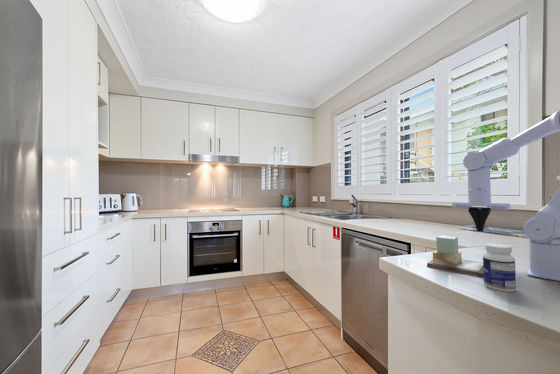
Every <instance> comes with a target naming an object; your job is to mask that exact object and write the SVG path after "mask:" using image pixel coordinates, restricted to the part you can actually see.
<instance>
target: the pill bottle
mask: <svg viewBox="0 0 560 374" xmlns="http://www.w3.org/2000/svg"><path fill="white" fill-rule="evenodd" d="M512 247H513V246H512V245H509V244H504V243H498V242H497V243H495V242H490V243H489V242H487V243H485V245H484V248H485V251H486V252H485V253H484V254H483V255H482V263H483V272H484V277H483V284H484V286H486V287H487V288H490V289H492V290H495V291H498V292H499V291H500V292H506V293H508V292H515V291H516V290H517V276H516V259H515V257H514V256H513V255H512V254H511V253H512V252H513V248H512Z"/></svg>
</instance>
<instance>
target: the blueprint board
mask: <svg viewBox="0 0 560 374" xmlns="http://www.w3.org/2000/svg"><path fill="white" fill-rule="evenodd" d="M426 266H427V268H428V267H429V268H433V269H438V270H443V271H444V270H445V271H448V272H449V271H450V272H455V273H459V274H463V275H464V274H465V275H469V274H470V276H474V275H476V276H475V277H479V276H480V277H481V278H484V272H483V262H481V261H474V260H467V259H462V252H461V251H458V252H457V253H456V254H455V255H453V254H446V253H440V252H437V249H435V250H434V251H432V260H430V261H428V262H427V263H426Z"/></svg>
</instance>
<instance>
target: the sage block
mask: <svg viewBox="0 0 560 374" xmlns="http://www.w3.org/2000/svg"><path fill="white" fill-rule="evenodd" d="M435 240H436V250H437V252H440V253H446V254H453V255H455V254H456V253H457V252H459V237H458V236H449V235H442V234H441V235H439V236H436V239H435Z"/></svg>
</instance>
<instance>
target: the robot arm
mask: <svg viewBox="0 0 560 374" xmlns="http://www.w3.org/2000/svg"><path fill="white" fill-rule="evenodd" d="M555 133H560V109H559V110H557V111H555V112H554V113H553V114H552V115H550V116H549V117H547V118H545V119H543V120H542V121H539V122H538V123H536V124H535V125H533V126H531V127H529V128H527V129H526V130H524V131H522V132H520V133H519V134H517V135H516V136H514V137H512V138H509V137H503V138H497V139H495V140H494V143H492V144H490V145H487V146H486V147H482V148H480V149H479V150H478V151H470V152H469V153H468V154H466V155H465V157H464V158H463V161H462V163H463V166H464V167H465V169H467V198H468V200H467V201H468V202H457V201H456V202H452V203H451V204H452V205H451V207H452V209H468V213H469V214H470V216H471V219H472V220H473V222H474V225H475V228H476V232H479V233H483V232H484V231H485V230H484V229H485V225H486V222H487V220H488V218H489V216H490V214H491V212H492V210H497V211H500V210H502V211H511V203H505V202H503V203H501V202H499V203H498V202H492V198H491V197H492V194H491V193H492V192H491V169H492V168H493V167H494V165H496V164H498V163H500V162H502V161H504V160H507V159H509V158H511V157H512V156H513V157H514V156H516V155H517V154H518V153H519V151H520V148H522V147H525V146H527V145H529V144H531V143H534V142H536V141H538V140H541V139H543V138H546V137H548V136H550V135H552V134H555ZM522 229H523V232H524V234H525V235H526V236H527V238H528V245H529V246H528V250H529V253H528V254H529V267H528V269H527V272H526V273H527V274H526V275H527V276H529V277H533V278H535V277H536V278H540V279H545V280H546V279H547V280H551V281H556V282H557V281H558V282H560V185H559V187H558V188H557V189H556V191H555V192H554V193H553V195H552V196H551V198H550V200H549V202H548V203H547V204H546V205H545V206H543V207H542V208H540V209H539V210H538V211H537V212H536V214H535V215H534V216H533V217H531V218H528V219H527V220H525V222H524V224H523V228H522Z"/></svg>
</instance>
